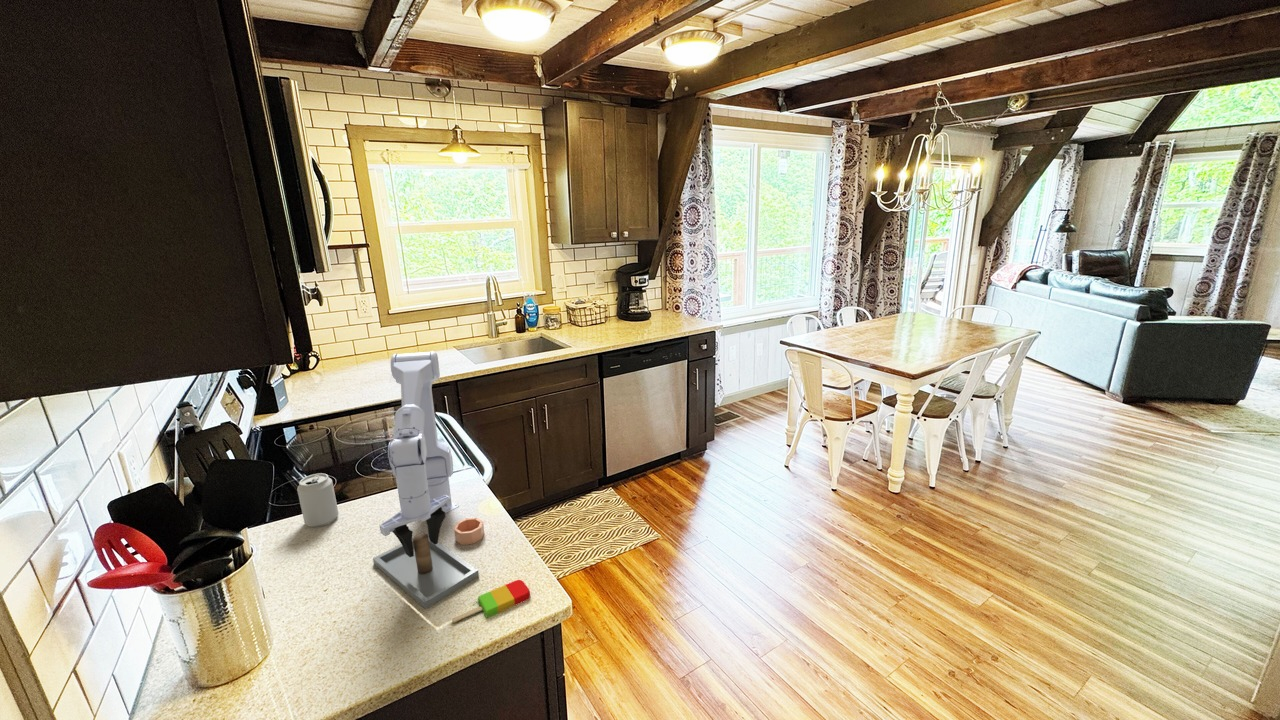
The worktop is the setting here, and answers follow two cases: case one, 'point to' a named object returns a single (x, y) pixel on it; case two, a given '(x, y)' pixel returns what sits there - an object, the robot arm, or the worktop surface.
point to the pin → (422, 553)
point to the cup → (469, 531)
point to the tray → (432, 585)
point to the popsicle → (499, 599)
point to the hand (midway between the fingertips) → (422, 548)
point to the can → (317, 500)
